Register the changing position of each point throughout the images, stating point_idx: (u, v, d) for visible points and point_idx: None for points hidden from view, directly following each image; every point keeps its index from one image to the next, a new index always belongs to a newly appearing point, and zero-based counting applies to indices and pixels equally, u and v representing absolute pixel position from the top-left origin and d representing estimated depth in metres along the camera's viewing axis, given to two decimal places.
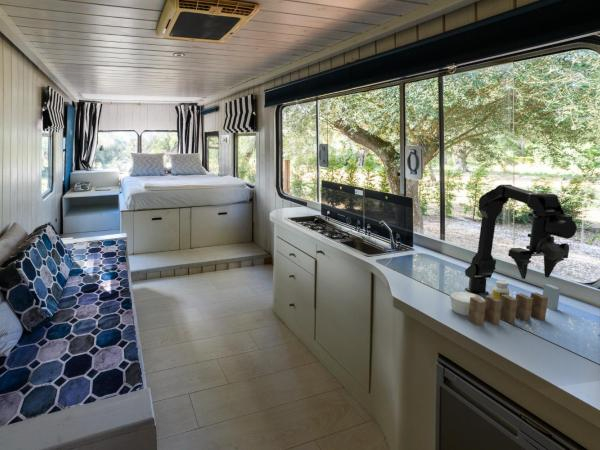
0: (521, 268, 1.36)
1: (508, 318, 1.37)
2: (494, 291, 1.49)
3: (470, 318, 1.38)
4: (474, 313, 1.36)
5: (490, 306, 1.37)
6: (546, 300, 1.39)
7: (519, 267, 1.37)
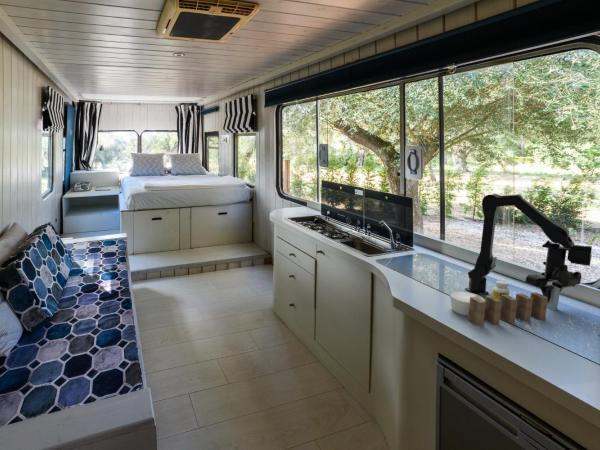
0: (545, 293, 1.50)
1: (508, 318, 1.37)
2: (494, 291, 1.49)
3: (470, 318, 1.38)
4: (474, 313, 1.36)
5: (490, 306, 1.37)
6: (546, 300, 1.39)
7: (543, 291, 1.51)
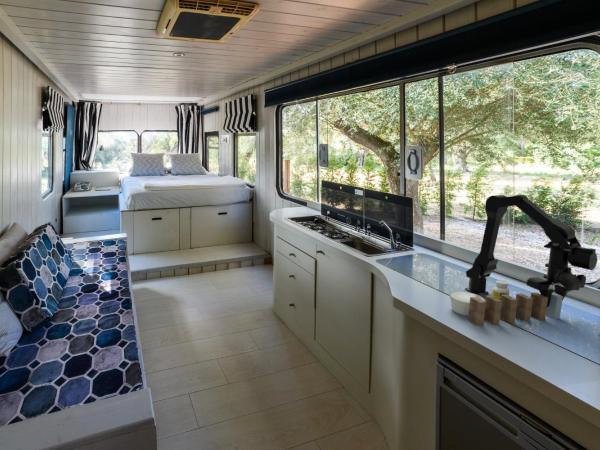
0: None
1: (508, 318, 1.37)
2: (494, 291, 1.49)
3: (470, 318, 1.38)
4: (474, 313, 1.36)
5: (490, 306, 1.37)
6: (546, 300, 1.39)
7: None
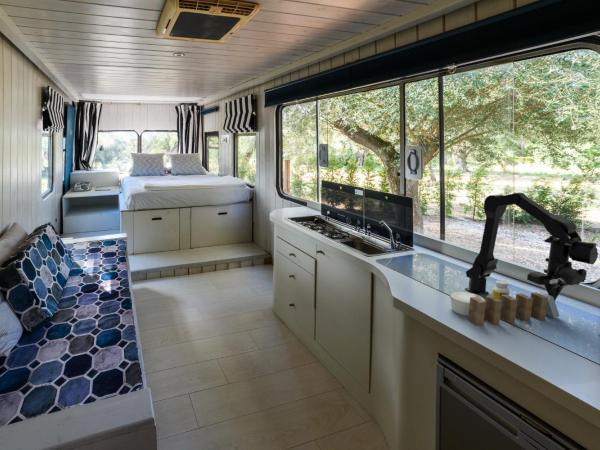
0: (550, 291, 1.42)
1: (508, 318, 1.37)
2: (494, 291, 1.49)
3: (470, 318, 1.38)
4: (474, 313, 1.36)
5: (490, 306, 1.37)
6: (546, 300, 1.39)
7: (548, 290, 1.43)
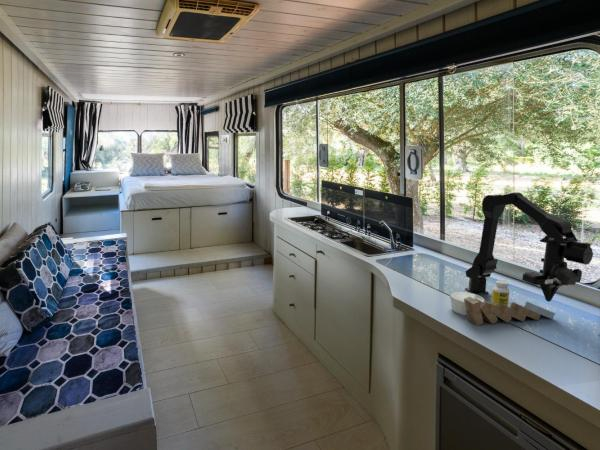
0: (546, 291, 1.41)
1: (504, 320, 1.37)
2: (494, 291, 1.49)
3: (469, 318, 1.38)
4: (471, 314, 1.35)
5: None
6: (525, 309, 1.37)
7: (544, 290, 1.42)
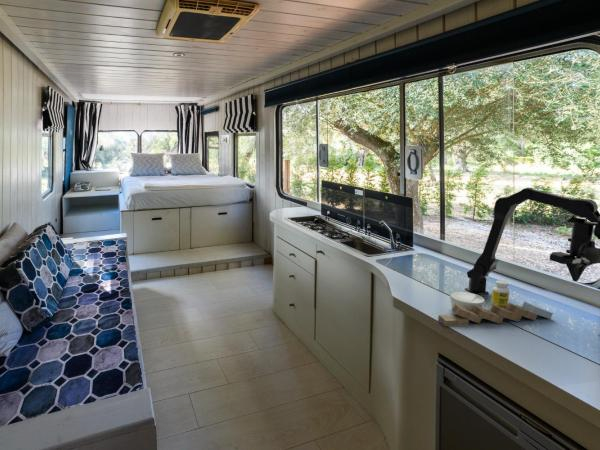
0: (573, 271, 1.41)
1: (496, 322, 1.36)
2: (494, 291, 1.49)
3: None
4: None
5: None
6: (521, 309, 1.37)
7: (570, 270, 1.42)
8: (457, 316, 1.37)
